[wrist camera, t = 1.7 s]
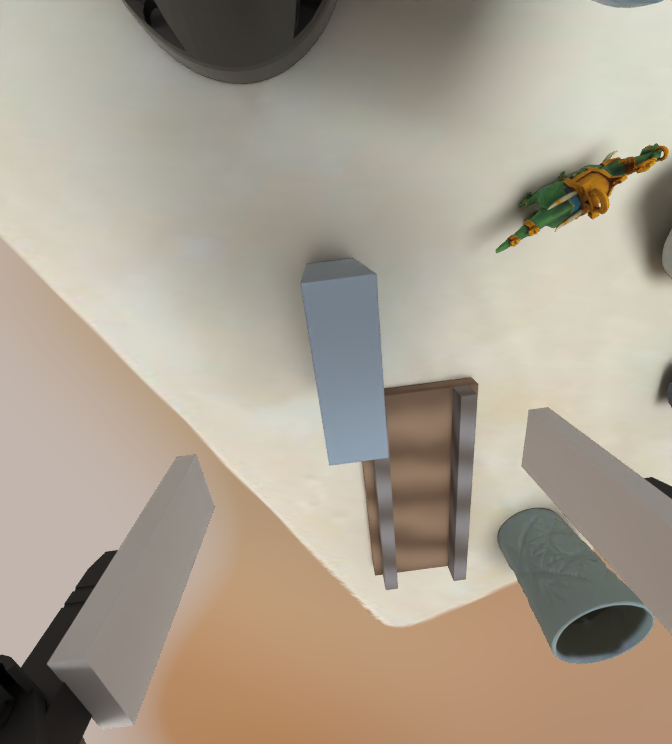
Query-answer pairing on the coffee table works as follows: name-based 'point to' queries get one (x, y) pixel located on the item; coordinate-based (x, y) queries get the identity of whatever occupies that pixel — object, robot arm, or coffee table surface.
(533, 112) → the coffee table surface
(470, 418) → the door track
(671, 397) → the camera
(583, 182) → the figurine
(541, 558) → the grey green cup
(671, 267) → the ceramic mug
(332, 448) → the door panel
